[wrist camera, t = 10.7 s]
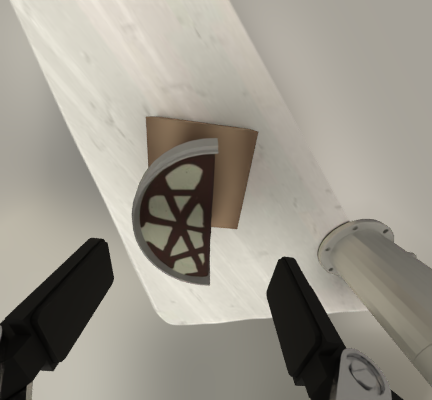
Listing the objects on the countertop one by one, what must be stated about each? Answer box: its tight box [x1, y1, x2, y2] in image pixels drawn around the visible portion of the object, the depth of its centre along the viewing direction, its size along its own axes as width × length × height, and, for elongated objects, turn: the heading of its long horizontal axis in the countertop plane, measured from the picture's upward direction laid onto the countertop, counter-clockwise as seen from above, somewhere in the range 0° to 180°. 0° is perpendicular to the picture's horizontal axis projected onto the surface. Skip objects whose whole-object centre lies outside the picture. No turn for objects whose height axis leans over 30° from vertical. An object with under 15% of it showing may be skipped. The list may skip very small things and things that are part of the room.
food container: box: [132, 138, 219, 286], centre depth 17 cm, size 12×6×10 cm, turn 177°
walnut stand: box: [146, 117, 258, 229], centre depth 23 cm, size 12×13×4 cm
